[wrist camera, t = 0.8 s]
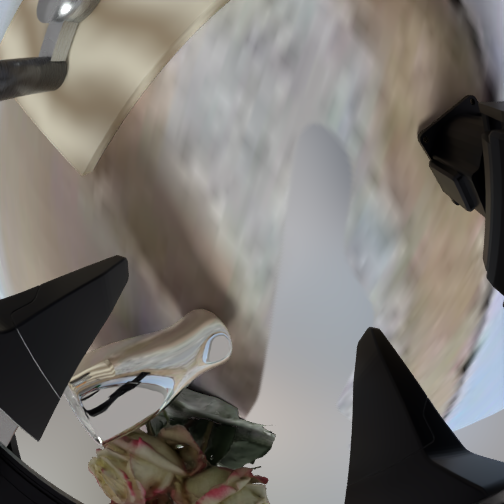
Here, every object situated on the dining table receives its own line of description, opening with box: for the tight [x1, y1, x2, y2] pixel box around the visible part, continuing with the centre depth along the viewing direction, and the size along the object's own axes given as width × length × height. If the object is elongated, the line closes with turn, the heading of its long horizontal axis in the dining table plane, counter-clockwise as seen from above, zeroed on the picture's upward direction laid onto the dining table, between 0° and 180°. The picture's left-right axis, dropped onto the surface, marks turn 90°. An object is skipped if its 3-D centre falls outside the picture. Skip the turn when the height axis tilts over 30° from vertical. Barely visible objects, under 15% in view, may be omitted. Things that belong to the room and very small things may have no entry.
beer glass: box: [63, 309, 232, 447], centre depth 21 cm, size 7×7×15 cm
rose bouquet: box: [88, 389, 276, 504], centre depth 29 cm, size 26×29×30 cm
